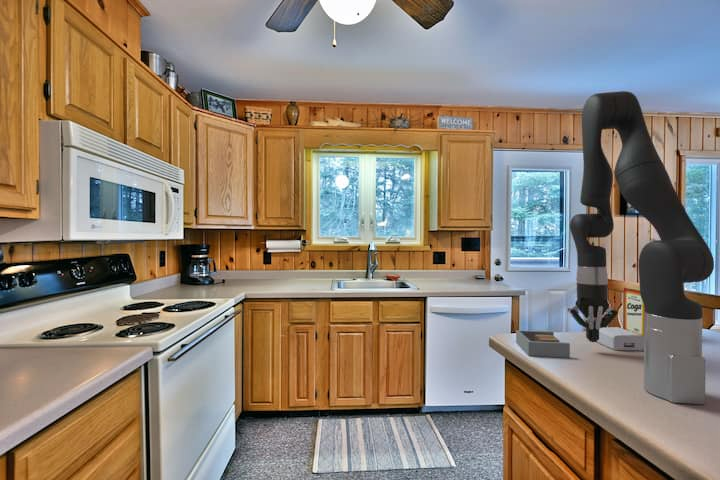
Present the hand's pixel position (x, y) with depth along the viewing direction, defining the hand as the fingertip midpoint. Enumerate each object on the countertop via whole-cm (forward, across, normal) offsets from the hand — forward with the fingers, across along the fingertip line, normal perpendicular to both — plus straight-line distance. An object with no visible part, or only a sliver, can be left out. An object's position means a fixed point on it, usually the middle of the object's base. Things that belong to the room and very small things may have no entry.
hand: (592, 341), depth 100 cm
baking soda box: (+3, +25, +21) cm, 33 cm away
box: (+3, -14, 0) cm, 14 cm away
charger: (+4, +10, +11) cm, 15 cm away
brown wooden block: (+3, -12, 0) cm, 13 cm away
